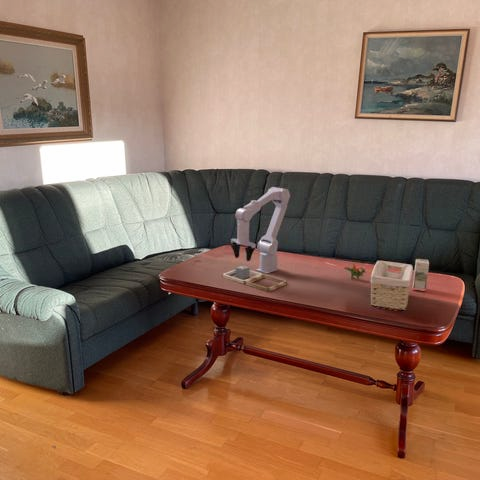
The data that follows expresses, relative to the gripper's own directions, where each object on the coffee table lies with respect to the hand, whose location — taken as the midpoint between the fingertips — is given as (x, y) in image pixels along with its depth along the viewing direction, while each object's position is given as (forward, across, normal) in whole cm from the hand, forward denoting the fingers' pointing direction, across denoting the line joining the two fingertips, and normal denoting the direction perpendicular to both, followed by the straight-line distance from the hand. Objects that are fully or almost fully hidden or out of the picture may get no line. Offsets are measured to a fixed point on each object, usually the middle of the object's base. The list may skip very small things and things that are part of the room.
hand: (242, 259), depth 228 cm
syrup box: (+10, +72, +44) cm, 86 cm away
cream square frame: (+9, 0, 0) cm, 9 cm away
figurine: (+10, +42, +36) cm, 57 cm away
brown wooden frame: (+9, +15, 0) cm, 18 cm away
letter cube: (+10, 0, 0) cm, 10 cm away
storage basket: (+10, +68, +22) cm, 72 cm away
